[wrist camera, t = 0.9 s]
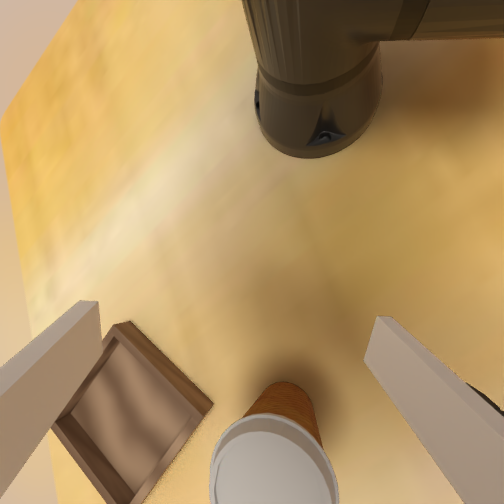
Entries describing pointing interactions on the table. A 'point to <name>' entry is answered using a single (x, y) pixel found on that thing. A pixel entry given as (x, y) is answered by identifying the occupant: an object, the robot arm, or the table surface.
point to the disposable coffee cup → (273, 454)
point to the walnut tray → (129, 416)
